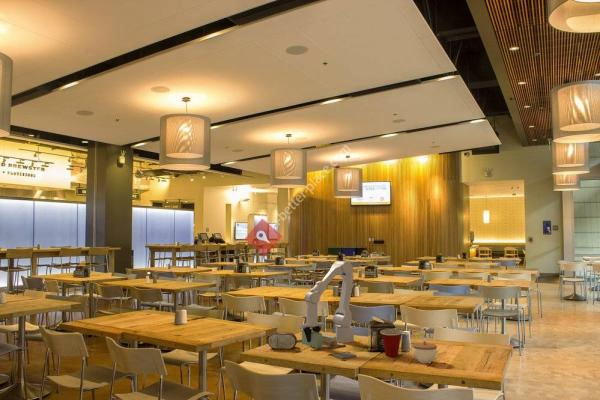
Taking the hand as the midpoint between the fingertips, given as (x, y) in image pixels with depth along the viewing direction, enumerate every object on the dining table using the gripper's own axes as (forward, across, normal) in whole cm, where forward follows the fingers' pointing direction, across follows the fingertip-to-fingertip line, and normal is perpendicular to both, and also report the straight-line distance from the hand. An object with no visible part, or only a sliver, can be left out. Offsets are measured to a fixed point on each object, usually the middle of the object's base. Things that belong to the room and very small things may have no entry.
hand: (311, 341), depth 266 cm
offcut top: (0, -10, 0) cm, 10 cm away
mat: (+3, -2, +20) cm, 20 cm away
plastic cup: (+3, -22, +36) cm, 42 cm away
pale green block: (+3, 0, 0) cm, 3 cm away
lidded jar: (+3, -27, +53) cm, 60 cm away
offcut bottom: (+2, -10, 0) cm, 10 cm away
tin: (+3, +15, -5) cm, 16 cm away
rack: (+3, -5, 0) cm, 6 cm away
